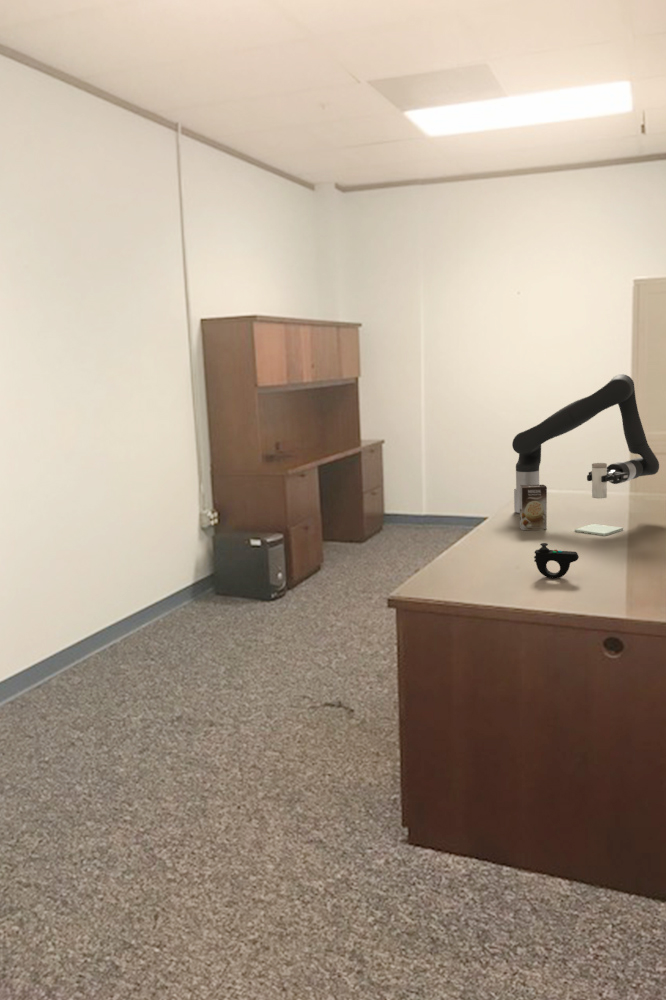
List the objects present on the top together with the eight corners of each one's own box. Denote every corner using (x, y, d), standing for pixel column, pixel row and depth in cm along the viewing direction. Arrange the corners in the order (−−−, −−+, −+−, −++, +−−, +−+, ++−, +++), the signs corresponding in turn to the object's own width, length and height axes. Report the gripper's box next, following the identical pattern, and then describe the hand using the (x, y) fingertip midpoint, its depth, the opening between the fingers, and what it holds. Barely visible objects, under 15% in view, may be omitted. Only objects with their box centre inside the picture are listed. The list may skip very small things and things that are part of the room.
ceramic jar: (589, 497, 284) (589, 464, 282) (597, 495, 287) (596, 462, 285) (601, 498, 280) (601, 465, 278) (609, 496, 283) (609, 463, 281)
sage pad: (574, 531, 286) (574, 529, 286) (593, 525, 294) (593, 523, 294) (604, 535, 277) (604, 533, 277) (623, 529, 285) (623, 527, 285)
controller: (536, 574, 234) (535, 541, 232) (579, 577, 228) (579, 543, 227) (533, 578, 230) (532, 544, 228) (577, 581, 224) (577, 547, 223)
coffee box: (521, 530, 293) (521, 487, 290) (519, 527, 299) (518, 484, 296) (547, 529, 292) (546, 486, 289) (544, 526, 298) (544, 483, 295)
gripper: (639, 483, 286) (613, 490, 276) (603, 480, 297) (577, 487, 287) (639, 463, 285) (613, 469, 274) (603, 461, 296) (577, 466, 285)
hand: (595, 478), depth 281 cm, fingers closed on ceramic jar, 5 cm apart
